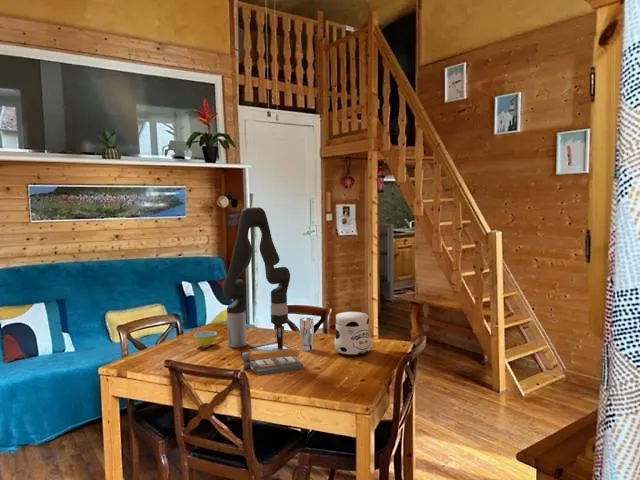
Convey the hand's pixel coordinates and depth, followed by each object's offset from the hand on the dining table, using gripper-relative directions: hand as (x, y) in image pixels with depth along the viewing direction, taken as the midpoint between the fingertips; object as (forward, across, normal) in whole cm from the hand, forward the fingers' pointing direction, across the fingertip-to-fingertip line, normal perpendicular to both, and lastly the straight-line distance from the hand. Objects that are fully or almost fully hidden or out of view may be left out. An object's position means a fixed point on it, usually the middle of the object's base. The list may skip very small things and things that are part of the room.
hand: (280, 350), depth 215 cm
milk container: (+6, -11, +34) cm, 36 cm away
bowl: (+7, -33, -38) cm, 51 cm away
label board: (+6, +4, -2) cm, 7 cm away
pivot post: (+6, +6, -14) cm, 16 cm away
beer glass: (+7, -19, +13) cm, 24 cm away
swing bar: (+1, +4, -4) cm, 6 cm away
